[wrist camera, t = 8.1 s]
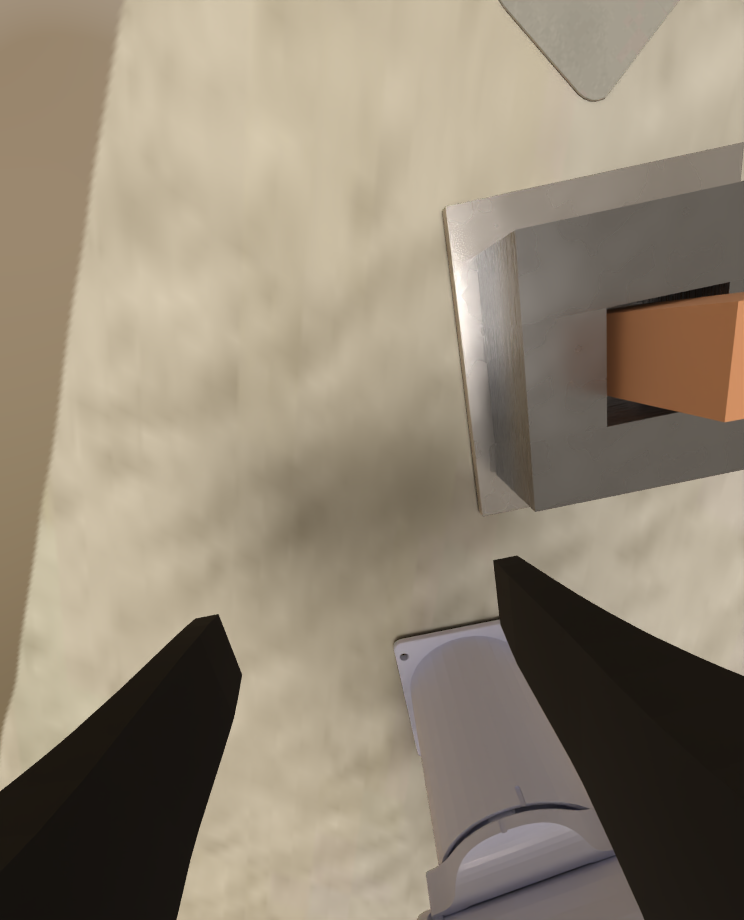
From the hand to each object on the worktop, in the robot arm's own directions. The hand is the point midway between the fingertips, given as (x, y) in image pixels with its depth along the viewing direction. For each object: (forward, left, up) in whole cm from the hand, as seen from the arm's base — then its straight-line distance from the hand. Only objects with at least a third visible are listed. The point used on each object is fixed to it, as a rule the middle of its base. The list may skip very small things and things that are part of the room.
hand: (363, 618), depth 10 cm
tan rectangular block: (+4, -12, -9) cm, 16 cm away
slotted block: (+4, -12, -10) cm, 16 cm away
